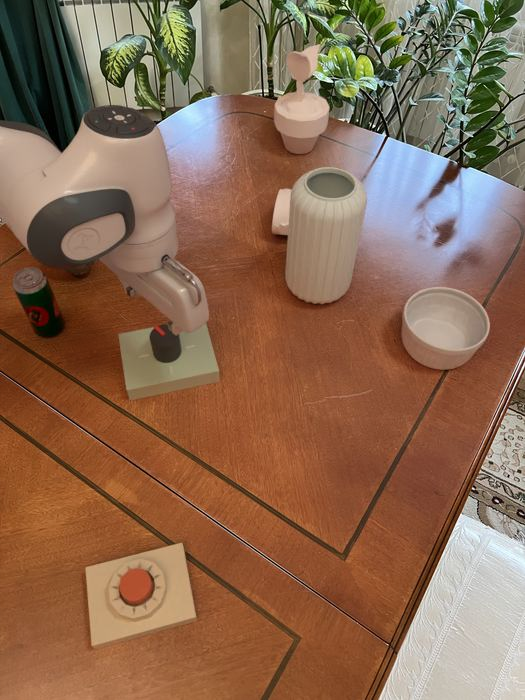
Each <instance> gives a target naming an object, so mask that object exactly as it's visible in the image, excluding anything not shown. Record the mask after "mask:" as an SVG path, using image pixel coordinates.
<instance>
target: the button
mask: <svg viewBox="0 0 525 700" xmlns="http://www.w3.org/2000/svg"><path fill="white" fill-rule="evenodd" d="M119 589H120V593H121V595H122V596H123V598H124V599H125V600H126V601H127V602H128V603H130V604H141V603H143V602H145V601H146V600H147V599H148V598H149V597H150V595H151V593H152V590H153V583H152V580H151V578H150V576H149V574H148V573H147V572H146V571H145V570H143V569H140V568H135V569H131V570H129V571H127V572H126V573H125V574H124V575H123V577H122V578H121V581H120V584H119Z"/></svg>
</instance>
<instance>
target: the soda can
mask: <svg viewBox="0 0 525 700" xmlns="http://www.w3.org/2000/svg"><path fill="white" fill-rule="evenodd" d="M12 288H13V290H14V292H15V295H16V297H17V299H18V301H19V303H20V305H21V308H22V310H23V312H24V313H25V316H26V318H27V320H28V322H29V324H30V326H31V328H32V331H33V332H34V334H35V335H36V336H37V337H40V338H43V339H50V338H54V337H57V336H59V334H61V333H62V332H63V331H64V328H65V326H66V321H65V319H64V316H63V314H62V311H61V309H60V306H59V304H58V300H57V299H56V297H55V293H54V292H53V289H52V287H51V284H50V281H49V279H48V277H47V274H45V273H44V272H42V270H41V269H39V268H37V267H32V266H31V267H30V266H29V267H24V268H22V269H20V270H18V271H17V272H16V273H15V274H14V276H13V277H12Z"/></svg>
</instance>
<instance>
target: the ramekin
mask: <svg viewBox="0 0 525 700" xmlns="http://www.w3.org/2000/svg"><path fill="white" fill-rule="evenodd" d="M401 319H402V324H401V342H402V345H403V347H404V348H405V351H406V352H407V354H408V355H409V356H410V357H411V358H412V359H413V360H414V361H416V362H417V363H418V364H420V365H422V366H424V367H427V368H429V369H434V370H439V371H441V370H442V371H443V370H446V371H447V370H453V369H456V368H459V367H462V366H464V365H465V364H466V363H467V362H468V361H469V360H470V359H472V357H473V356H474V354H475V353H476V352H477V351H478V349H480V348H481V347H482V346H483V345H484V344H485V342H486V340H487V338H488V336H489V334H490V328H491V323H490V318H489V315H488V313H487V311H486V309H485V308H484V307H483V305H482V304H481V303H480V302H479V301H478V300H477V299H476V298H474V297H473V296H472V295H470V294H468V293H466V292H464V291H462V290H460V289H456V288H452V287H446V286H432V287H431V286H430V287H427V288H423V289H420V290H418V291H416V292H415V293H413V294H412V295H411V296H409V298H408V299H407V301H406V302H405V304H404V306H403V309H402V314H401Z"/></svg>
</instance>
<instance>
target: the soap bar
mask: <svg viewBox="0 0 525 700" xmlns="http://www.w3.org/2000/svg"><path fill="white" fill-rule="evenodd" d="M291 191H292V189H291V188H286V187H285V188H283V189H282V188H280V189H279V190H278V192H277V196H276V199H275V204H274V208H273V214H272V220H271V221H272V222H271V233H272V235H279V236H288V227H289V212H290V197H291Z"/></svg>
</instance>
